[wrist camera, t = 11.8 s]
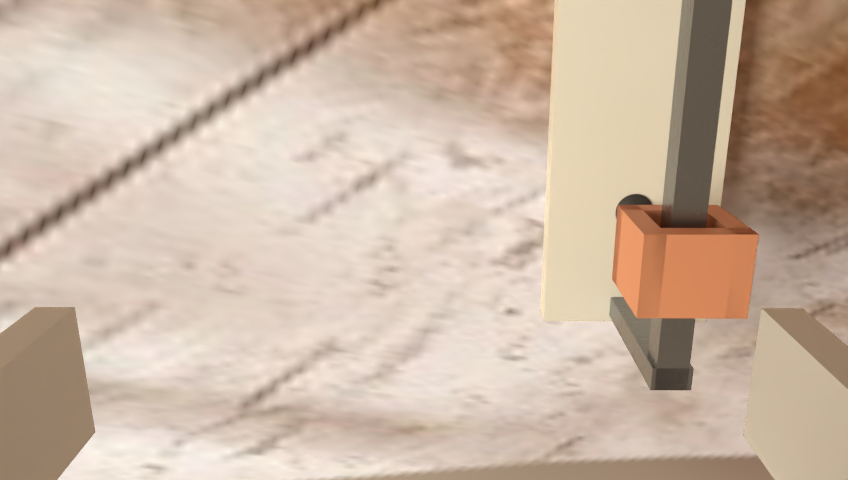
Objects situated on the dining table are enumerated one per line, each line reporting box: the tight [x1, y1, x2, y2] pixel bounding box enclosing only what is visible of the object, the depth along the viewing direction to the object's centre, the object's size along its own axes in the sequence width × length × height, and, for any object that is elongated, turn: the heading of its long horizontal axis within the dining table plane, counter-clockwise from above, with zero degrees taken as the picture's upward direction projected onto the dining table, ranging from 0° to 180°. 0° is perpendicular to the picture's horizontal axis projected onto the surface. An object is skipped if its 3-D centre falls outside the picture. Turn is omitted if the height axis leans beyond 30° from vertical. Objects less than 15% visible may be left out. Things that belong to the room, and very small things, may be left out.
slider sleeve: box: [612, 205, 759, 318], centre depth 38 cm, size 4×5×10 cm
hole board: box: [540, 0, 746, 321], centre depth 42 cm, size 27×10×2 cm, turn 0°
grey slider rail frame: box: [609, 0, 733, 390], centre depth 37 cm, size 24×2×9 cm, turn 0°
